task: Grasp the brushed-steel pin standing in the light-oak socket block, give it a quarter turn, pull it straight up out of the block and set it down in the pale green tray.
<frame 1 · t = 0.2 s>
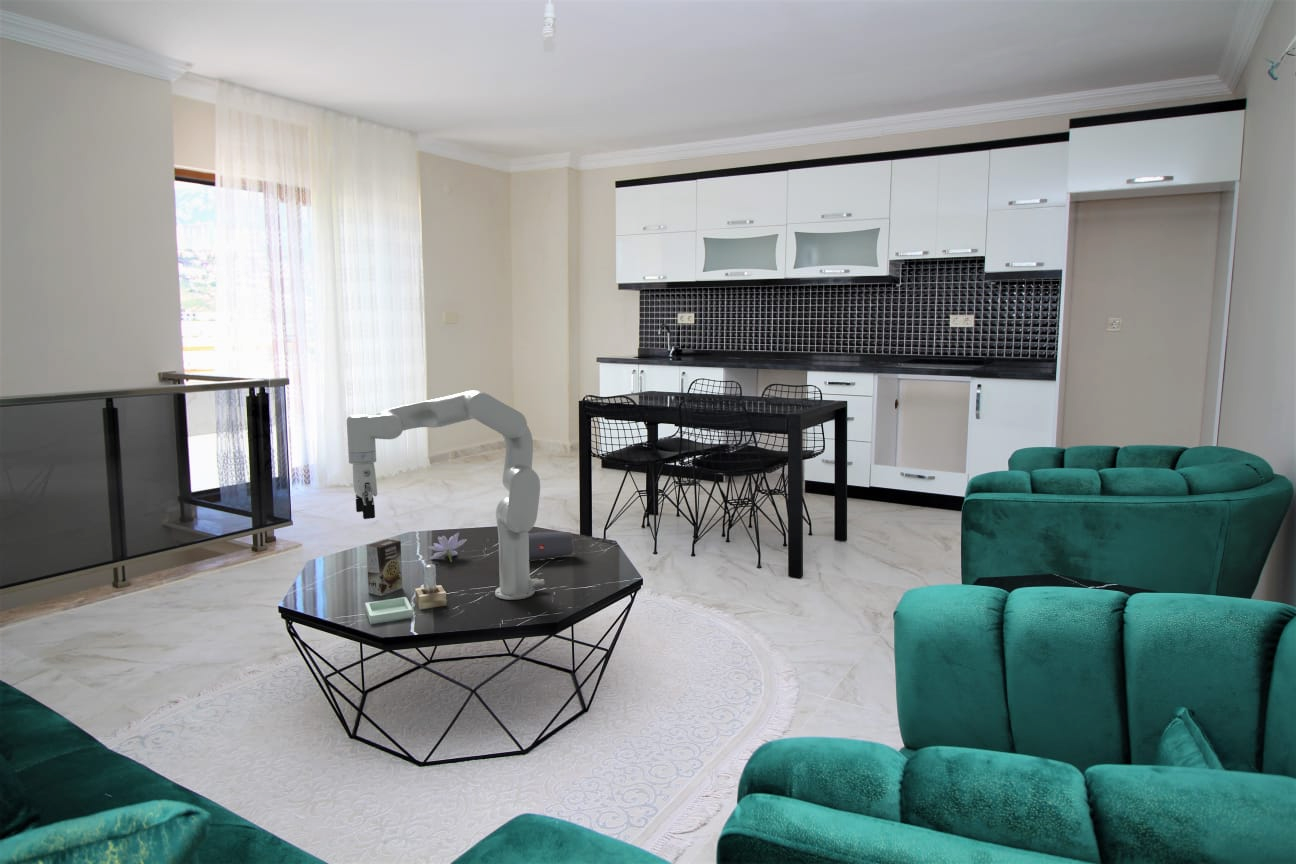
hand: (365, 514, 231), 31 cm above the table, fingers open, 9 cm apart
brown cookie box: (385, 591, 257), on the table
socket block: (430, 603, 245), on the table
pin: (430, 584, 244), in the socket block
tray: (389, 614, 236), on the table
bluetooth speaker: (540, 559, 290), on the table
water lily: (448, 559, 291), on the table
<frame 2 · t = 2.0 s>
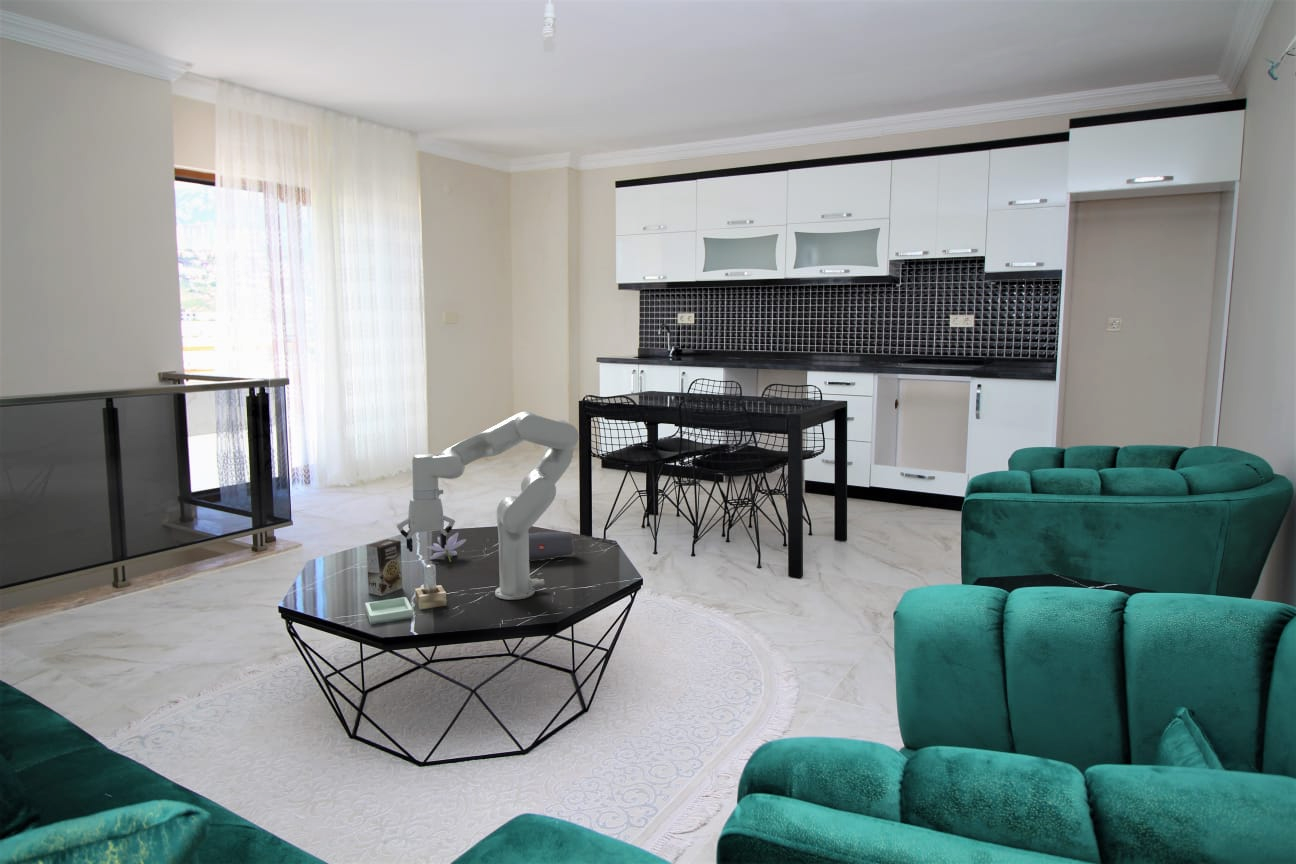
hand: (426, 549, 243), 17 cm above the table, fingers open, 9 cm apart
nothing on the table moved.
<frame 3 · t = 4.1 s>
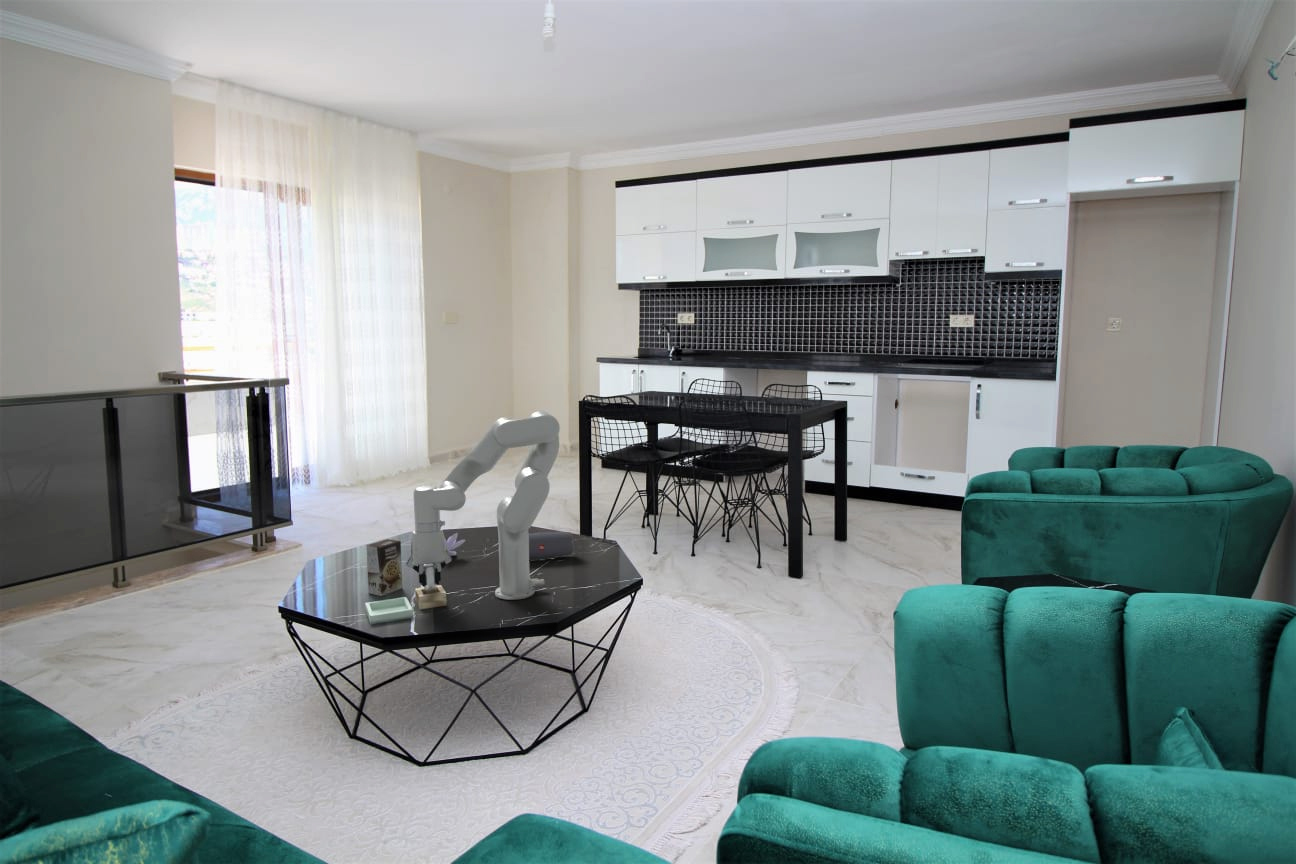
hand: (430, 583, 244), 6 cm above the table, fingers closed on pin, 3 cm apart
pin: (430, 584, 244), in the socket block, touching gripper
everything else where it was.
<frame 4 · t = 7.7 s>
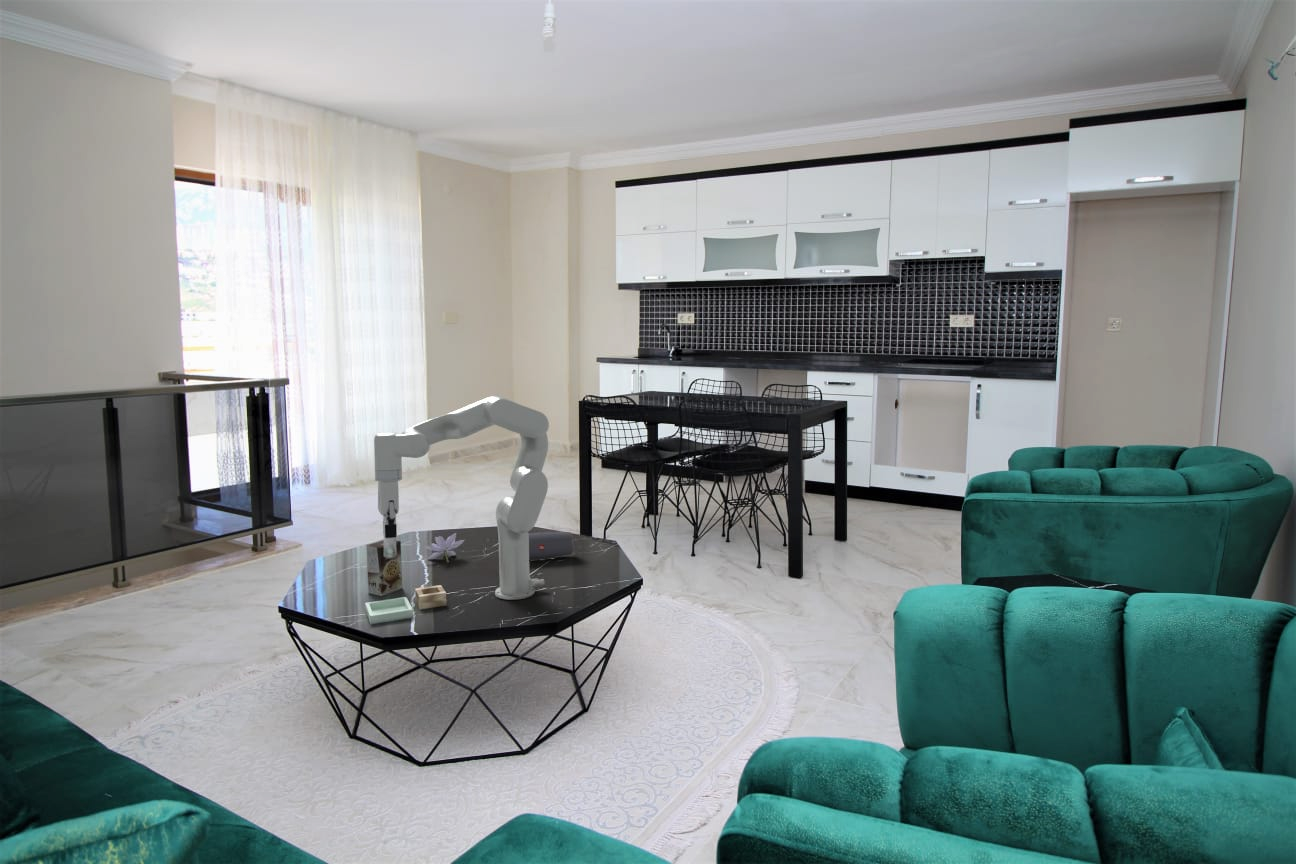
hand: (389, 535, 234), 24 cm above the table, fingers closed on pin, 3 cm apart
pin: (389, 535, 234), point 24 cm above the table, touching gripper
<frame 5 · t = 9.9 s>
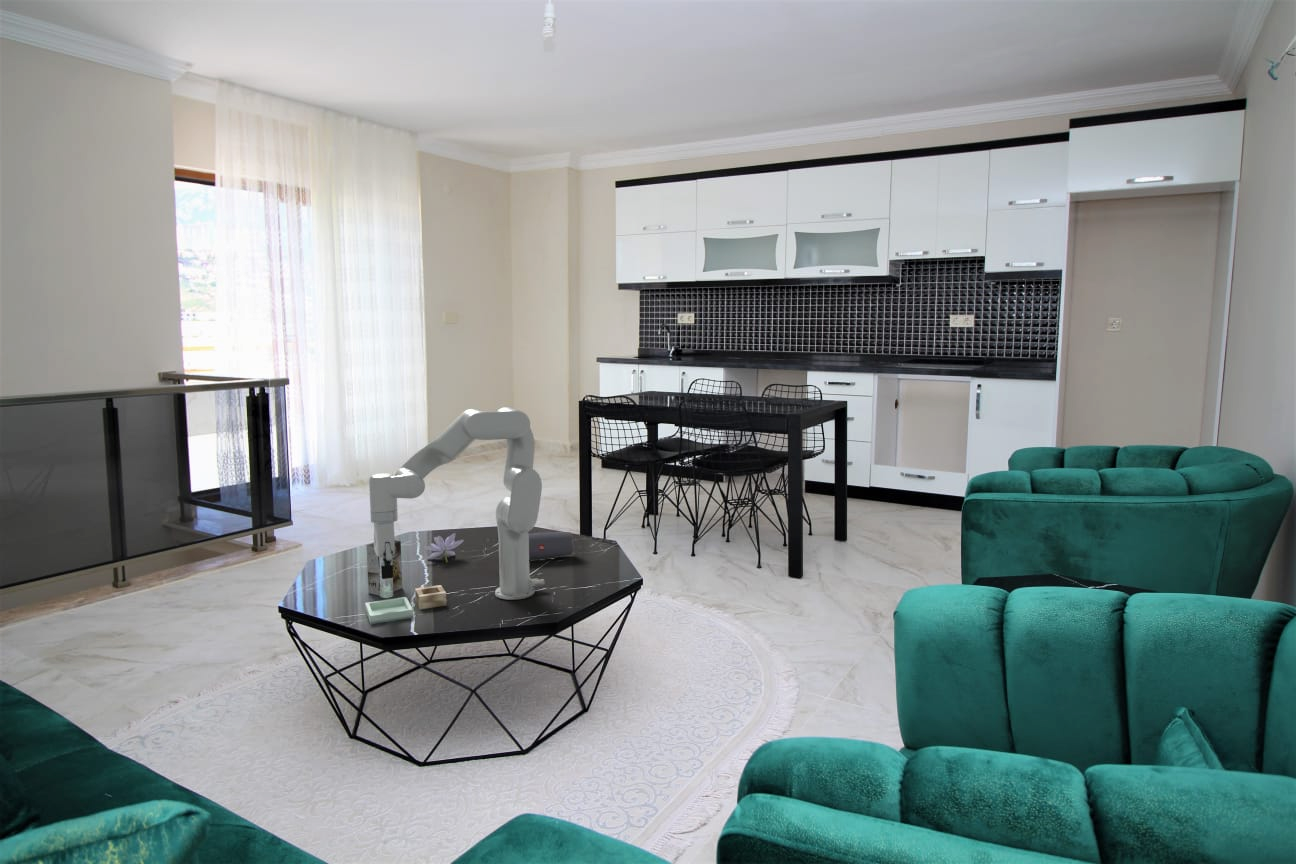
hand: (386, 575, 234), 12 cm above the table, fingers closed on pin, 3 cm apart
pin: (386, 576, 234), point 12 cm above the table, touching gripper
when the fingers open (8 cm above the table, at t = 11.5 s): pin stays where it is, resting on tray.
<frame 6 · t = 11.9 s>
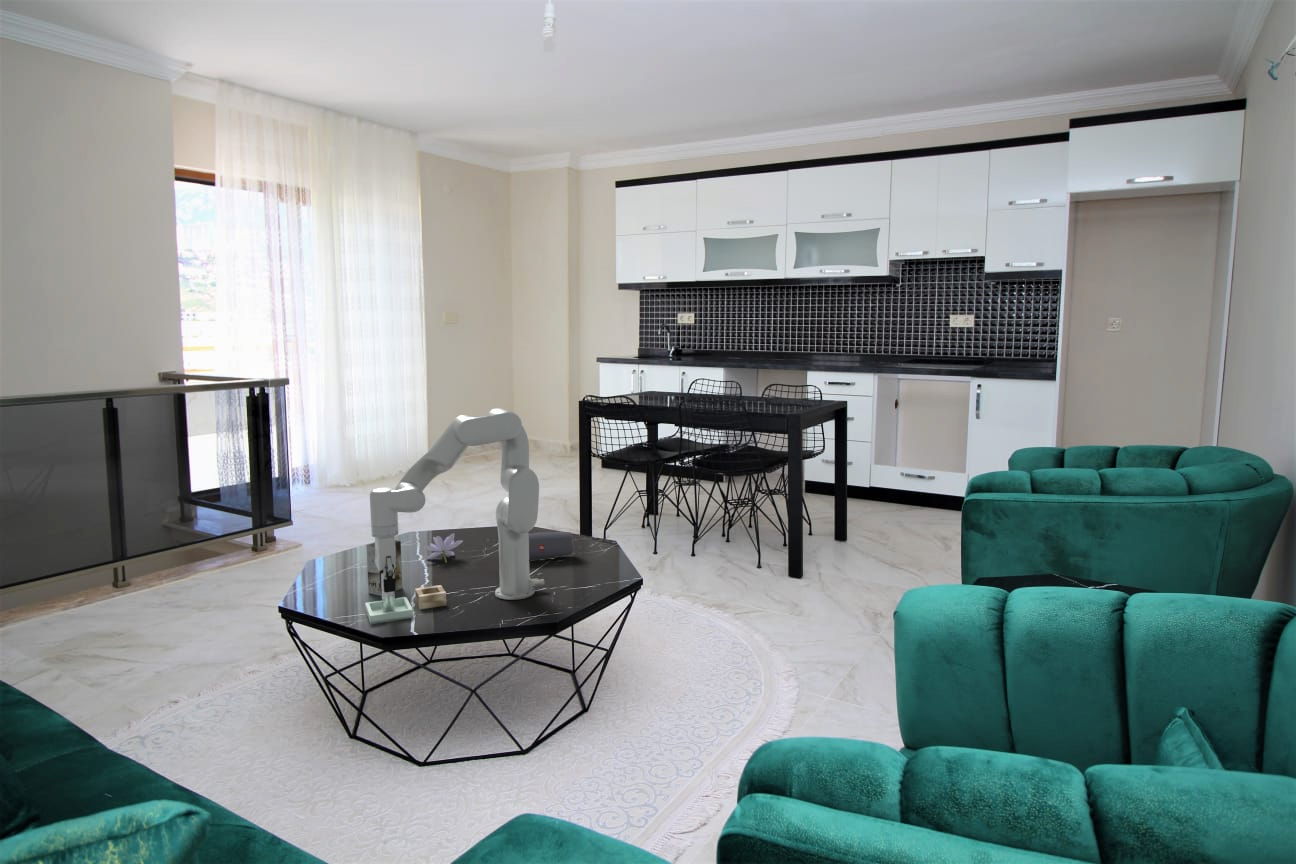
hand: (387, 587, 235), 8 cm above the table, fingers open, 7 cm apart
pin: (388, 592, 235), in the tray, point 7 cm above the table
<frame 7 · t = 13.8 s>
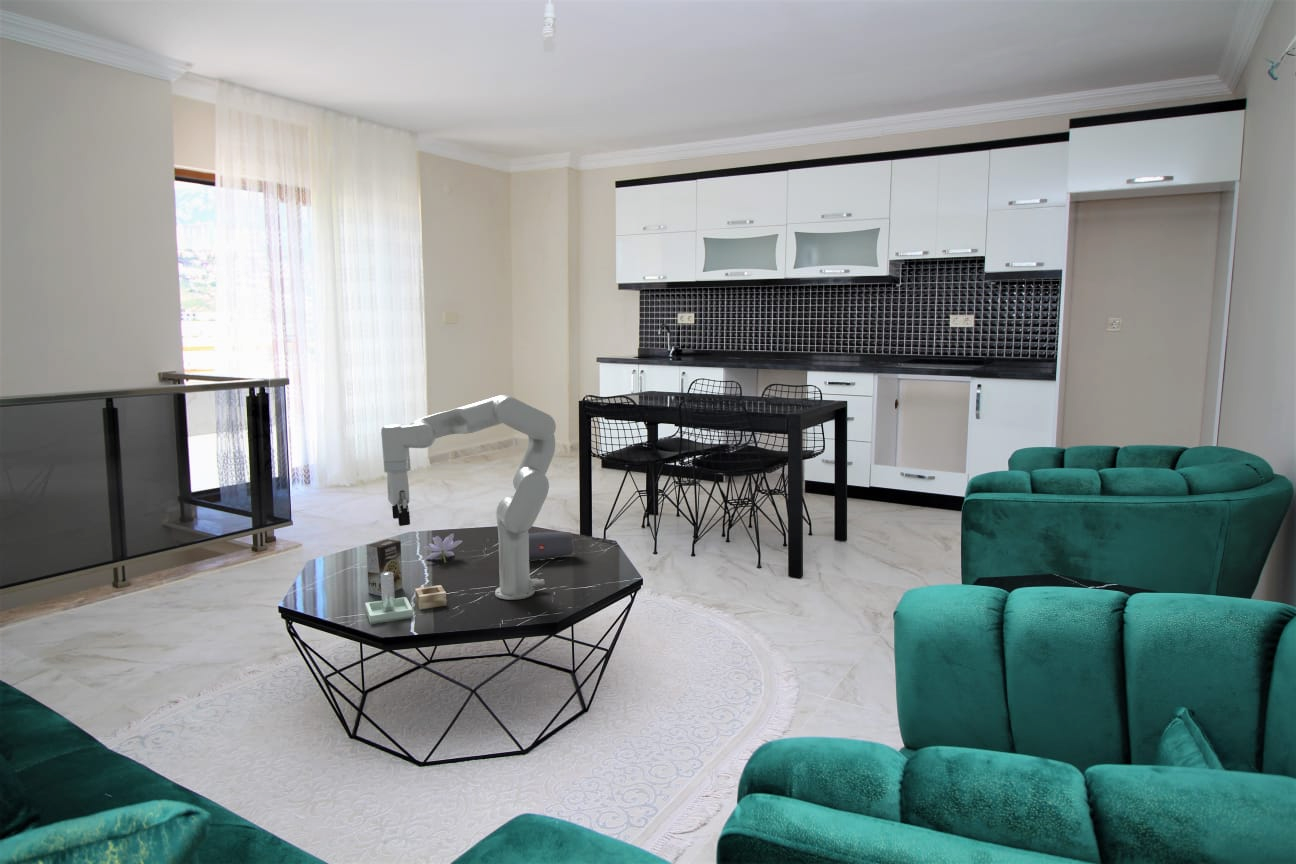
hand: (401, 521, 238), 27 cm above the table, fingers open, 9 cm apart
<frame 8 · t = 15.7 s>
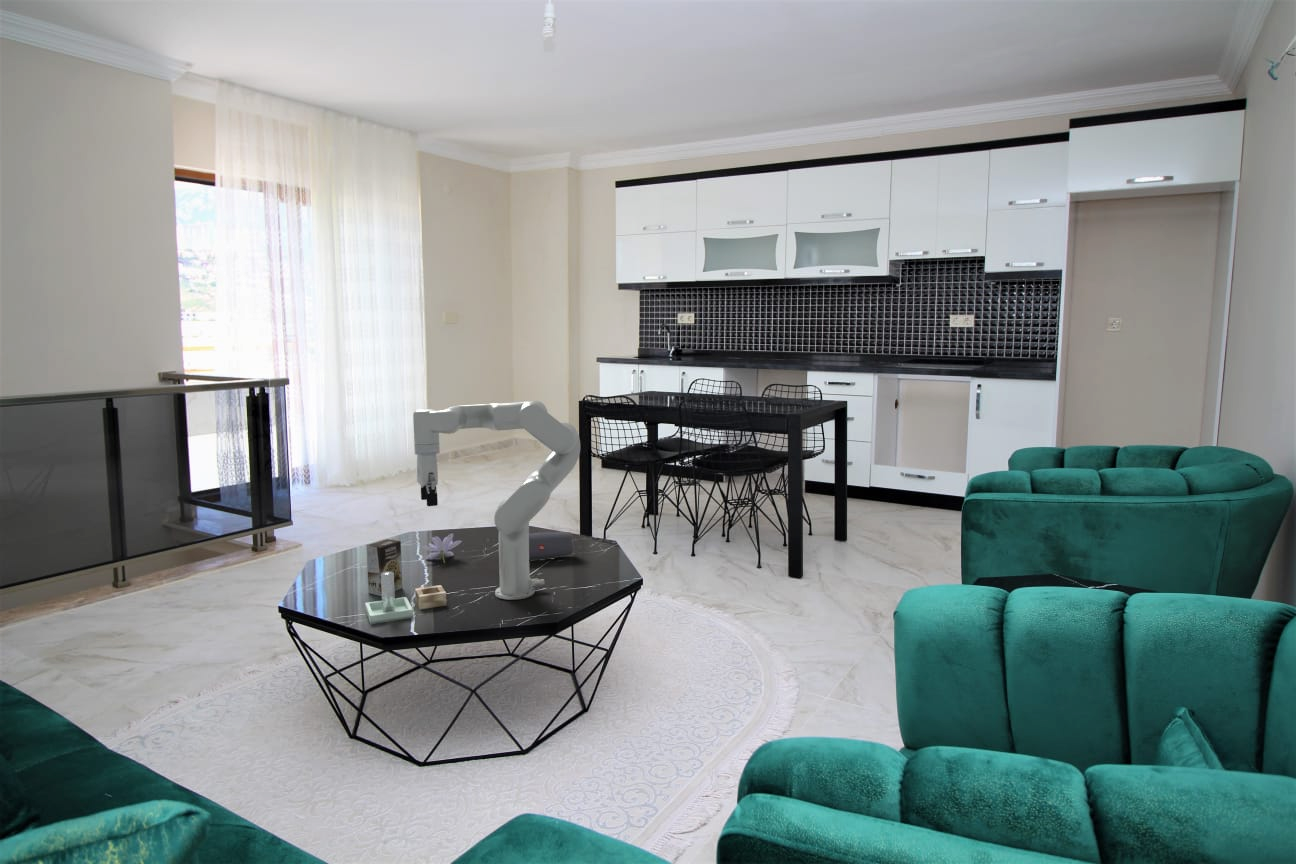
hand: (429, 502, 248), 30 cm above the table, fingers open, 9 cm apart
at the end: pin inside the target area on the tray (0.0 cm from its centre), point 6.6 cm above the tray's base; the gripper is holding nothing; pin touching tray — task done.
